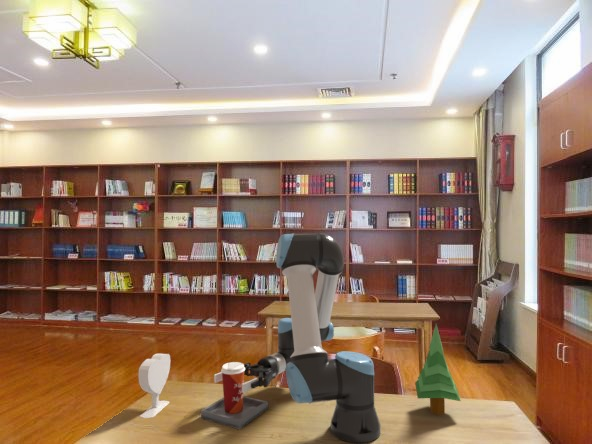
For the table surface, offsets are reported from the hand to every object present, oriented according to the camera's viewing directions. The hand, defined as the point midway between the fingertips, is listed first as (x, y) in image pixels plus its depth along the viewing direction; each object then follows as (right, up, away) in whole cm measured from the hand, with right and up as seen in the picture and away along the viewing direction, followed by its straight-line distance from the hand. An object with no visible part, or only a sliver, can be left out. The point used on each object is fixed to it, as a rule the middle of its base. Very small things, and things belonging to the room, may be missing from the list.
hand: (228, 383), depth 134 cm
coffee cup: (+1, -10, +3) cm, 11 cm away
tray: (+2, -11, +2) cm, 11 cm away
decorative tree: (+70, -11, +2) cm, 71 cm away
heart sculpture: (-26, -12, +6) cm, 30 cm away
